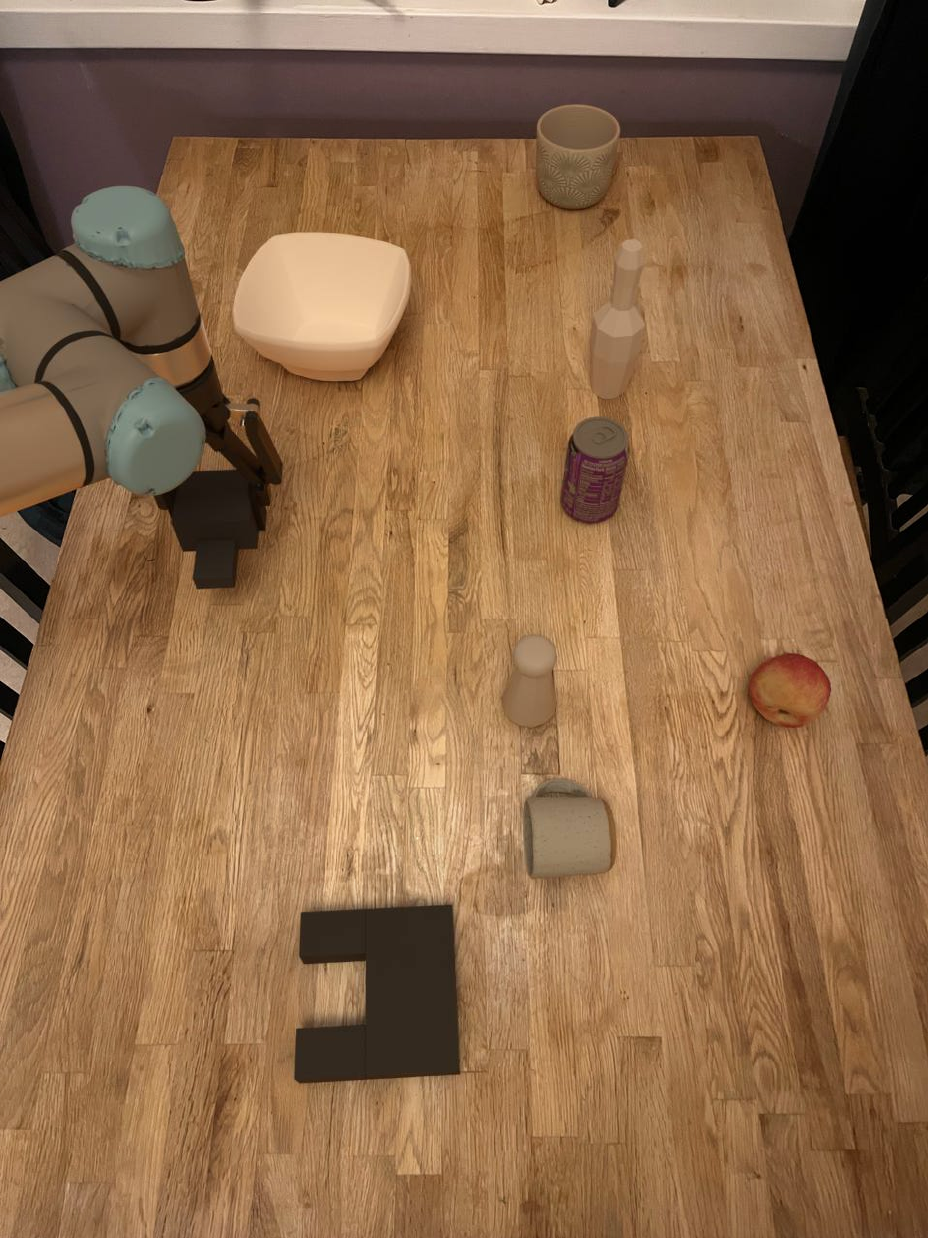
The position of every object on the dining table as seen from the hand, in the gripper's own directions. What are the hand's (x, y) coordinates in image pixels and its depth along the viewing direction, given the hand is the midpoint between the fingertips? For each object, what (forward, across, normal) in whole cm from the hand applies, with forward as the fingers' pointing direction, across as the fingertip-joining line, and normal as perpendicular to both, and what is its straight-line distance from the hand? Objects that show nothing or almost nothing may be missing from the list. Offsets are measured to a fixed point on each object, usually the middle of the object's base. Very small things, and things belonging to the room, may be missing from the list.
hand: (222, 522), depth 104 cm
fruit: (+9, -59, +21) cm, 63 cm away
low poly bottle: (+9, -47, -28) cm, 56 cm away
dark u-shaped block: (+10, -16, +48) cm, 51 cm away
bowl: (+9, -10, -36) cm, 39 cm away
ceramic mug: (+10, -34, +34) cm, 49 cm away
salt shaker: (+10, -32, +20) cm, 39 cm away
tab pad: (0, 0, +3) cm, 3 cm away
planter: (+9, -47, -71) cm, 86 cm away
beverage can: (+9, -42, -8) cm, 44 cm away
